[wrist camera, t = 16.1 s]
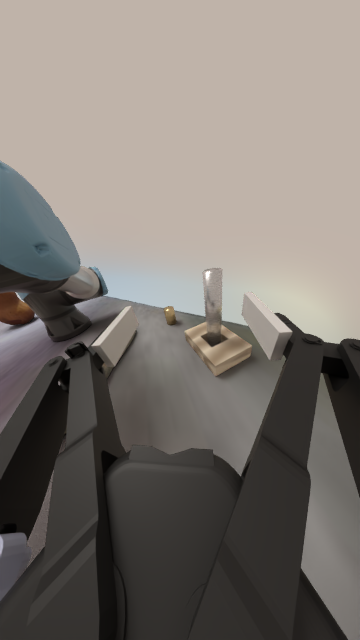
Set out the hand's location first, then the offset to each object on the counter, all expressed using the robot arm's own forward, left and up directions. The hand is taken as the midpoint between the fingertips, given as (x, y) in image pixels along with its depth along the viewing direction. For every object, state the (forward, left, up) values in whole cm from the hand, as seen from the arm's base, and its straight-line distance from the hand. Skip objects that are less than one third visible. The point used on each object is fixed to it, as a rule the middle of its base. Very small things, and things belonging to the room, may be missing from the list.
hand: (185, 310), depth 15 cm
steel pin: (-8, +10, -19) cm, 23 cm away
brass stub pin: (-27, +5, -19) cm, 33 cm away
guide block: (-8, +10, -19) cm, 23 cm away
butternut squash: (-85, -67, -19) cm, 110 cm away
